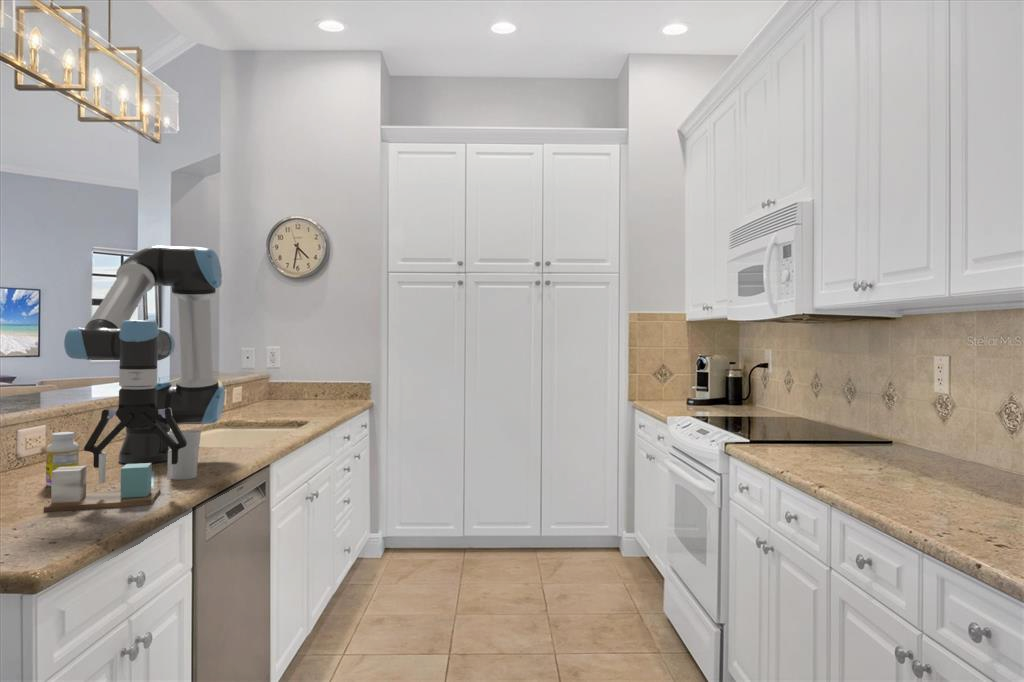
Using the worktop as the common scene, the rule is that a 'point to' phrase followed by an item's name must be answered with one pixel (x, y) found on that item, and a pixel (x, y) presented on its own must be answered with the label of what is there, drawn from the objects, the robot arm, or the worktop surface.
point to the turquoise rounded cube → (136, 480)
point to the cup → (187, 455)
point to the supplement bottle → (61, 453)
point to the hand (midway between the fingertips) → (136, 480)
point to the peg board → (73, 496)
